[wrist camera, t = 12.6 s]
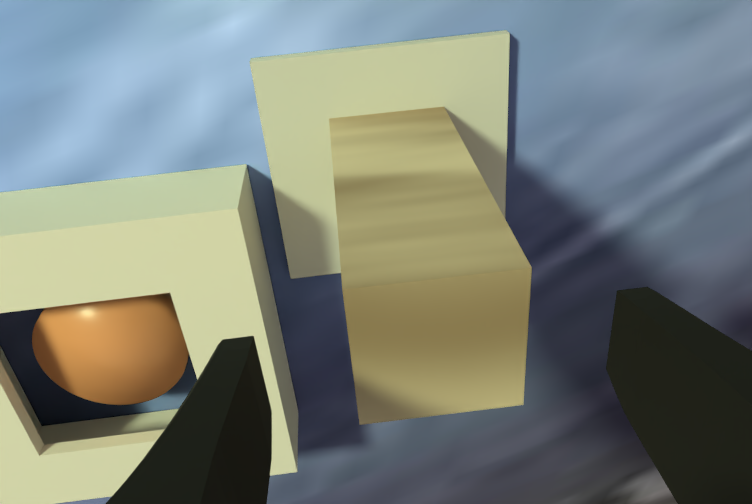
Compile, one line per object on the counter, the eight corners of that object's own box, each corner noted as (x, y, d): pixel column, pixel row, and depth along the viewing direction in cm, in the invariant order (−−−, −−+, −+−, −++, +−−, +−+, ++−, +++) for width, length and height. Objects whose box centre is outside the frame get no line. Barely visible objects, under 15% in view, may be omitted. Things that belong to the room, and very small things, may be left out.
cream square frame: (298, 411, 26) (297, 471, 24) (25, 446, 26) (-6, 511, 23) (246, 164, 20) (237, 208, 18) (-108, 205, 20) (-169, 256, 17)
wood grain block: (445, 208, 21) (523, 405, 14) (341, 219, 21) (359, 425, 13) (443, 106, 19) (531, 267, 12) (328, 118, 19) (342, 289, 12)
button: (207, 369, 24) (202, 395, 23) (74, 385, 24) (62, 413, 23) (174, 258, 22) (166, 281, 20) (24, 275, 21) (7, 300, 20)
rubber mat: (501, 247, 23) (504, 253, 22) (290, 272, 22) (290, 278, 22) (506, 30, 19) (509, 33, 18) (250, 58, 19) (249, 62, 18)
